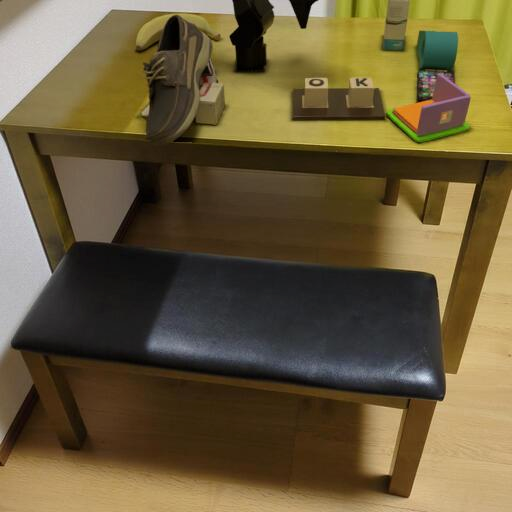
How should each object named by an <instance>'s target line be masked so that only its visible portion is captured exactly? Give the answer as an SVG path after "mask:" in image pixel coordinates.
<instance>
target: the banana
mask: <svg viewBox="0 0 512 512" xmlns="http://www.w3.org/2000/svg"><path fill="white" fill-rule="evenodd" d="M173 15H179V16H181V17H182V18H183V19H184V20H186V21H187V22H189V23H193V24H195V25H196V27H197V28H198V29H199V30H200V31H201V32H203V33H205V34H206V35H209V36H210V37H212V38H214V40H215V41H219V40H220V39H221V33H219V32H216V31H213V29H212V28H211V26H210V24H209V22H208V20H207V19H205V18H204V17H202V16H200V15H198V14H195V13H194V14H193V13H181V12H180V13H168V14H164V15H161V16H157V17H155V18H152V19H151V20H149V21H147V22H146V23H145V24H144V25H143V26H141V28H140V30H139V31H138V32H137V35H136V38H135V48H136V50H137V51H140V52H141V51H144V50H146V49H148V48H149V47H150V46H152V45H153V44H155V43H156V42H159V41H160V38H161V34H162V31H163V28H164V26H165V24H166V22H167V20H168V19H169V18H170V17H171V16H173Z"/></svg>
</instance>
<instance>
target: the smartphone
mask: <svg viewBox="0 0 512 512" xmlns="http://www.w3.org/2000/svg"><path fill="white" fill-rule="evenodd" d="M440 74H441V75H443V76H445V77H446V78H447V79H449V80H450V81H452V82H453V83H454V84H456V77H455V70H453V69H452V70H451V69H433V68H420V67H419V68H418V70H417V73H416V79H417V82H416V83H417V85H416V101H417V103H419V102H423V101H427V100H432V98H433V93H434V88H435V83H436V78H437V75H440Z"/></svg>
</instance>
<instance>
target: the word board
mask: <svg viewBox="0 0 512 512" xmlns="http://www.w3.org/2000/svg"><path fill="white" fill-rule="evenodd" d="M348 92H349V87H344V88H343V87H337V88H333V87H332V88H329V87H328V100H327V106H314V107H305V88H293V89H292V121H385V118H386V114H385V110H384V106H383V102H382V101H383V100H382V97H381V92H380V88H379V87H374V93H373V102H372V106H349V98H348Z"/></svg>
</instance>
